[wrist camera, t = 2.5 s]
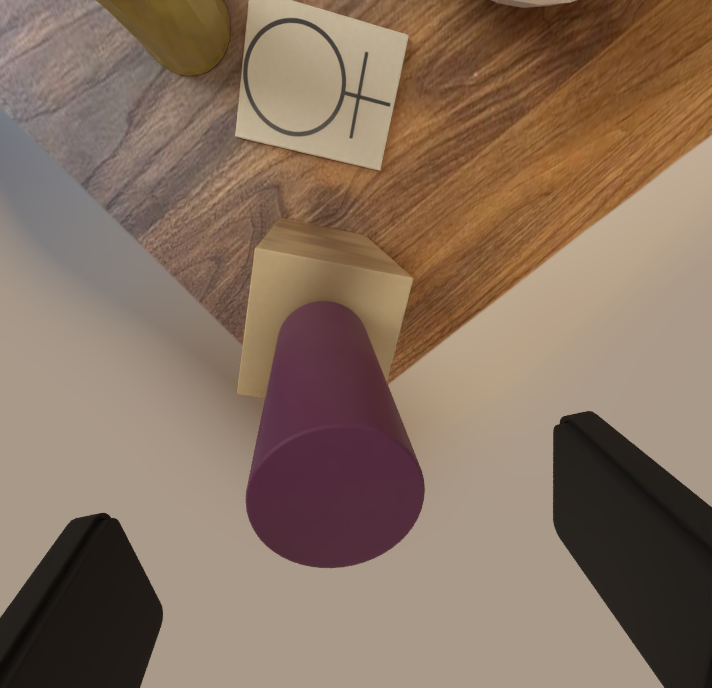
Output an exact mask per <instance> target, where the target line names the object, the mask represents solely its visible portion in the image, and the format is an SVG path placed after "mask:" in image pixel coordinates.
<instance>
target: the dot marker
mask: <svg viewBox="0 0 712 688" xmlns="http://www.w3.org/2000/svg"><path fill="white" fill-rule="evenodd" d="M424 490H425V488H424V478H423V474H422V471H421V468H420V466H419V463H418V460H417V458H416V455H415V453H414V450H413V448H412V445H411V443H410V440H409V438H408V435H407V433H406V430H405V427H404V425H403V422H402V420H401V417H400V415H399V413H398V410H397V407H396V405H395V402H394V400H393V397H392V395H391V392H390V389H389V387H388V384H387V382H386V379H385V377H384V374H383V372H382V369H381V367H380V364H379V361H378V359H377V356H376V354H375V351H374V349H373V346H372V344H371V341H370V339H369V336H368V334H367V331H366V329H365V326H364V324H363V323H362V321H361V319H360V318H359V317H358V316H357V315H356V314H355V313H354V312H353V311H352V310H350V309H349V308H347V307H345V306H343V305H341V304H338V303H335V302H329V301H317V302H312V303H308V304H305V305H303V306H301V307H299V308H298V309H296V310H295V311H293V312H292V313H291V314H290V315H289V316H288V317H287V318H286V320H285V321H284V322H283V324H282V326H281V328H280V331H279V334H278V338H277V343H276V348H275V353H274V358H273V363H272V368H271V373H270V377H269V382H268V387H267V392H266V397H265V402H264V407H263V412H262V417H261V422H260V427H259V431H258V436H257V441H256V446H255V451H254V457H253V461H252V466H251V471H250V476H249V481H248V485H247V490H246V509H247V514H248V517H249V521H250V523H251V525H252V527H253V529H254V531H255V532H256V534H257V536H258V537H259V538H260V540H261V541H262V542H263V543H264V544H265V545H266V546H267V547H269V548H270V549H271V550H272V551H274V552H275V553H277V554H278V555H280V556H282V557H284V558H286V559H288V560H290V561H292V562H295V563H298V564H302V565H306V566H311V567H319V568H336V567H337V568H338V567H346V566H352V565H356V564H359V563H363V562H366V561H369V560H371V559H374V558H376V557H378V556H380V555H382V554H383V553H385V552H386V551H388V550H390V549H391V548H393V547H394V546H395V545H396V544H397V543H399V542H400V541H401V540H402V539H403V538H404V537H405V536H406V535H407V534H408V532H409V531H410V530H411V528H412V527H413V526H414V524H415V522H416V520H417V519H418V516H419V514H420V512H421V509H422V505H423V501H424V492H425V491H424Z"/></svg>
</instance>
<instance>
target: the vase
mask: <svg viewBox="0 0 712 688" xmlns="http://www.w3.org/2000/svg"><path fill="white" fill-rule="evenodd" d="M96 1H97V2H99V3H100V4H101V5H102V6H104V7H105V8H106V9H107V10H108V11H109V12H110V13H111V14H112V15H113V16H114V17H115V18H116V19H117V20H118V21H119V22H120V23H121V24H122V25H123V26H124V27H125V28H126V29H127V30H128V31H129V32H130V33H131V34H132V35H133V36H134V37H136V38H137V39H138V40H139V41H140V42H141V43H142V44H143V45H144V46H145V48H146V50H147V51H148V52H149V53H150V54H151V55H152V56H153V58H155V59H156V60H157V61H158V62H159V63H160V64H161V65H162V66H164V67H165V68H167V69H168V70H170V71H173V72H175V73H178V74H182V75H198V74H202V73H205V72H207V71H209V70H210V69H212V68H213V67H214V66H215V65H216V64H217V63H218V62H219V61H220V60H221V59H222V57H223V56H224V54H225V52H226V49H227V46H228V42H229V37H230V24H229V16H228V11H227V8H226V5H225V3H224V1H223V0H96Z"/></svg>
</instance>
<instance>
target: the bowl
mask: <svg viewBox="0 0 712 688" xmlns="http://www.w3.org/2000/svg"><path fill="white" fill-rule="evenodd" d="M492 1H494V2H496V3H499V4H505V5H510V6H516V7H522V8H527V7H540V6H551V5H556V4H561V3H570V2H573V1H576V0H492Z"/></svg>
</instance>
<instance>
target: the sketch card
mask: <svg viewBox="0 0 712 688" xmlns="http://www.w3.org/2000/svg"><path fill="white" fill-rule="evenodd" d="M408 38H409V35H407V34H403V33H400V32H397V31H393V30H390V29H387V28H383V27H380V26H377V25H373V24H370V23H366V22H363V21H360V20H356V19H353V18H350V17H346V16H343V15H340V14H336V13H333V12H330V11H326V10H323V9H320V8H316V7H313V6H310V5H306V4H303V3H299V2H296V1H293V0H249V3H248V13H247V23H246V33H245V43H244V53H243V63H242V73H241V83H240V93H239V103H238V113H237V123H236V133H235V136H236V137H238V138H242V139H246V140H250V141H255V142H259V143H263V144H267V145H272V146H276V147H280V148H284V149H288V150H293V151H297V152H301V153H305V154H310V155H314V156H318V157H322V158H327V159H331V160H335V161H339V162H343V163H348V164H352V165H356V166H360V167H365V168H369V169H373V170H377V171H380V169H381V165H382V160H383V155H384V151H385V146H386V141H387V136H388V132H389V127H390V122H391V118H392V113H393V108H394V104H395V99H396V94H397V89H398V85H399V80H400V75H401V71H402V66H403V61H404V57H405V52H406V47H407V42H408Z"/></svg>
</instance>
